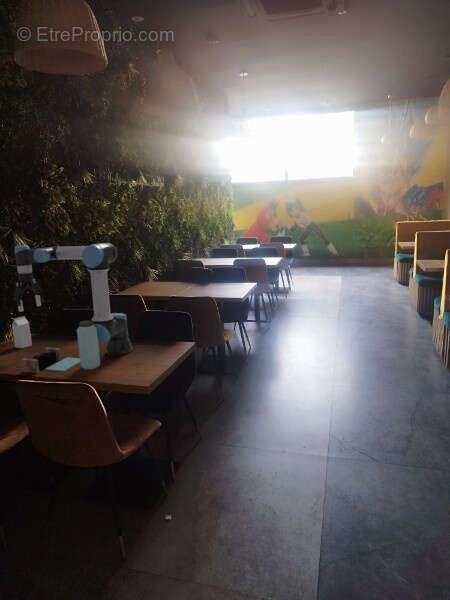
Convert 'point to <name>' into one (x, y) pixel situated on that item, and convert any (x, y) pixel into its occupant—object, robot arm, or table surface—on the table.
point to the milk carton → (21, 332)
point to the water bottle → (88, 345)
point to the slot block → (32, 364)
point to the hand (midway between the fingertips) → (30, 308)
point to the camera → (46, 359)
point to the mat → (64, 364)
